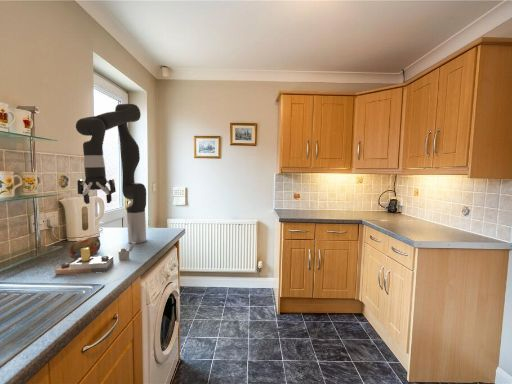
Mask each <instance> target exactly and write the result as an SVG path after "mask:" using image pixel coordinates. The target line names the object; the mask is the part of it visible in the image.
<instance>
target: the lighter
mask: <svg viewBox="0 0 512 384" xmlns="http://www.w3.org/2000/svg"><path fill="white" fill-rule="evenodd" d="M130 244H131V245H130V247H129V249H127V248H126V247H123V248H121V249H119V250H118V261H119V260H121V261H128V260H127V259H129V258H131V257H130V252H132V251H133V249H134V247H135V245H136V244H137V243H136V242H132V243H130ZM129 260H130V259H129Z"/></svg>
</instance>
